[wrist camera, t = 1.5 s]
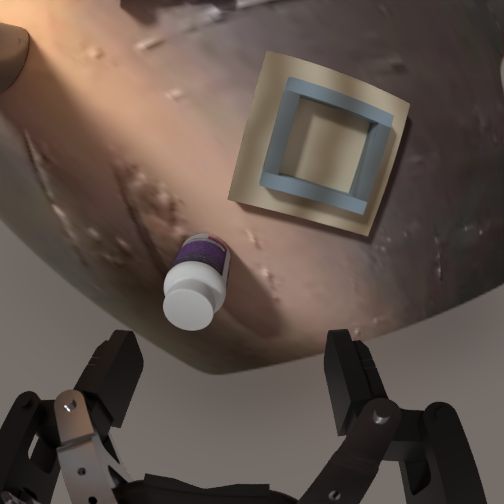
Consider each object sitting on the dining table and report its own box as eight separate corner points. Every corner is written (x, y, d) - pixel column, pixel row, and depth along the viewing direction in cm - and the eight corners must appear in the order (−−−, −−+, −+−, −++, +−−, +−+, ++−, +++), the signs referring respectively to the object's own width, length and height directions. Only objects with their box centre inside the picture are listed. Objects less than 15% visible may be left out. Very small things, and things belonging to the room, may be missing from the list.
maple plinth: (229, 194, 27) (225, 205, 24) (265, 55, 22) (268, 44, 18) (360, 229, 29) (375, 244, 25) (400, 104, 23) (420, 103, 20)
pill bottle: (172, 241, 29) (141, 291, 21) (219, 224, 29) (205, 271, 20) (192, 284, 32) (173, 343, 23) (238, 270, 31) (233, 329, 22)
